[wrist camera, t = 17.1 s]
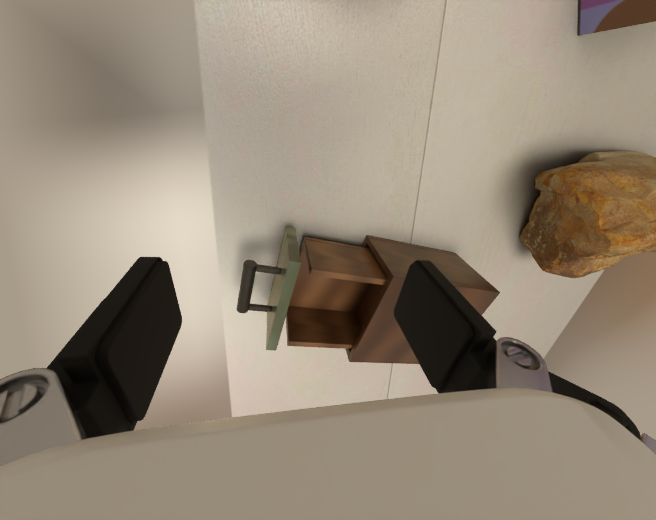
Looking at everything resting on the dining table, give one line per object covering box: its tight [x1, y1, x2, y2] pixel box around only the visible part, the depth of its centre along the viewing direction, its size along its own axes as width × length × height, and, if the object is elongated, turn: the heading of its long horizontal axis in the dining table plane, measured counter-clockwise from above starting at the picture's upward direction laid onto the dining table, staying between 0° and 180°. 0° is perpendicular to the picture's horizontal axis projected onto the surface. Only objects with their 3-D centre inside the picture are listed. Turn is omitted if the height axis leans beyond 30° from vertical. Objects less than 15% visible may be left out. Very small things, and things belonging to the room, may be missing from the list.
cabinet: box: [346, 235, 500, 364], centre depth 37 cm, size 16×15×10 cm
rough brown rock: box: [520, 151, 656, 278], centre depth 33 cm, size 23×17×15 cm
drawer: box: [237, 227, 388, 350], centre depth 33 cm, size 19×13×8 cm
